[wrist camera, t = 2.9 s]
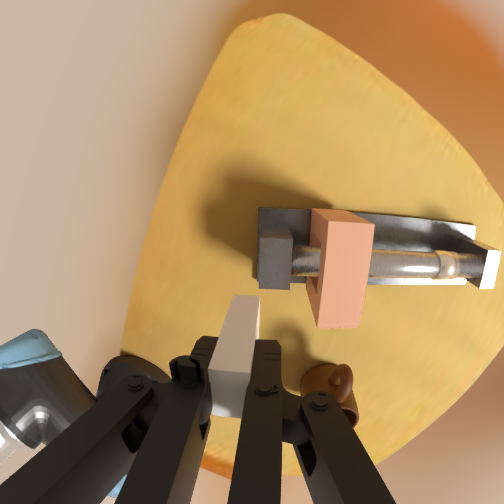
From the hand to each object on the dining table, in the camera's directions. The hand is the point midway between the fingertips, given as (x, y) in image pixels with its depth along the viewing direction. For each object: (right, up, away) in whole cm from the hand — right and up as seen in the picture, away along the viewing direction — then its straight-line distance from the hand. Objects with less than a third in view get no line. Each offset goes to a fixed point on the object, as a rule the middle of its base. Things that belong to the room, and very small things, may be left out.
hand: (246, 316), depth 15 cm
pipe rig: (+17, +4, +16) cm, 24 cm away
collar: (+9, +4, +16) cm, 19 cm away
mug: (+12, -14, +22) cm, 29 cm away
